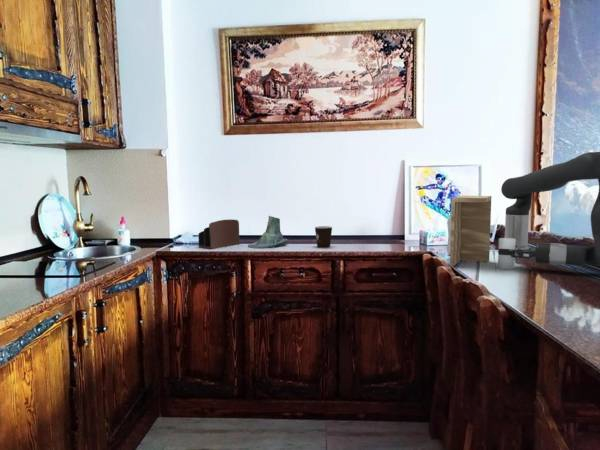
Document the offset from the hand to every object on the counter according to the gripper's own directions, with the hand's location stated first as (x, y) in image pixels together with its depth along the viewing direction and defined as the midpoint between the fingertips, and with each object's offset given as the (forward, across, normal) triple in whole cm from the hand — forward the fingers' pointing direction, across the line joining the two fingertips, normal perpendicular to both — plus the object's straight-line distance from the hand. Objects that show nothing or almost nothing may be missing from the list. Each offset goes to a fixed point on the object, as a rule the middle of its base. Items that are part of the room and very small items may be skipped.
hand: (499, 250), depth 163 cm
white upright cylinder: (-3, 0, +6) cm, 7 cm away
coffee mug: (+82, -16, +7) cm, 84 cm away
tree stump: (+111, -7, +7) cm, 111 cm away
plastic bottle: (+19, -18, +7) cm, 27 cm away
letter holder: (+133, +4, +7) cm, 133 cm away
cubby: (+10, -2, +6) cm, 12 cm away
